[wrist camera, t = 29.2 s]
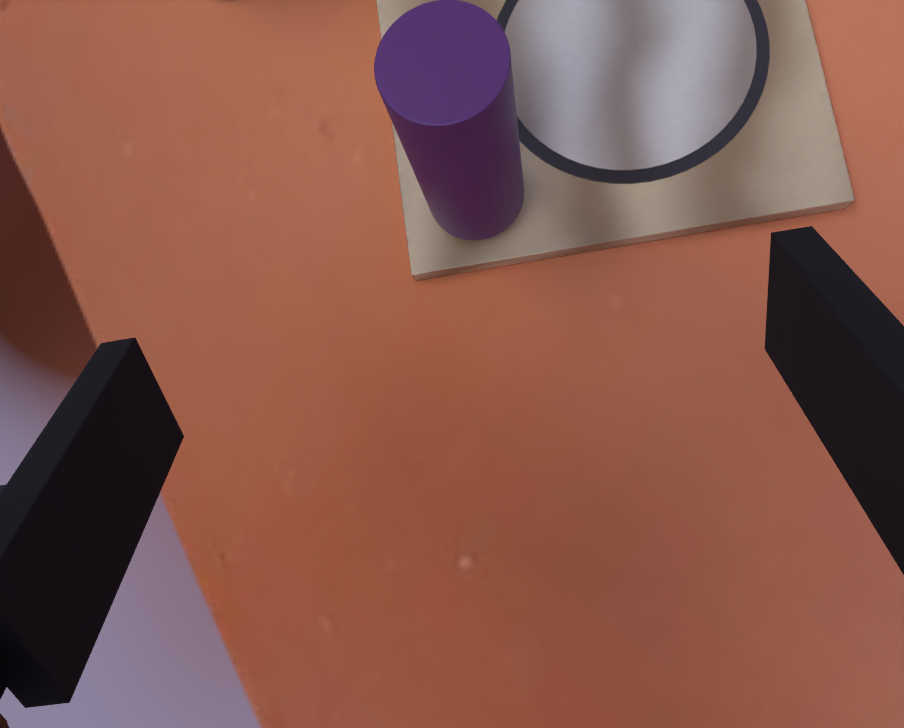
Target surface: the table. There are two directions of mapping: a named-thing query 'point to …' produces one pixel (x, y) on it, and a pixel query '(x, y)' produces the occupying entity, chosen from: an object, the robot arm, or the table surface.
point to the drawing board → (647, 127)
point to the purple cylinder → (455, 114)
